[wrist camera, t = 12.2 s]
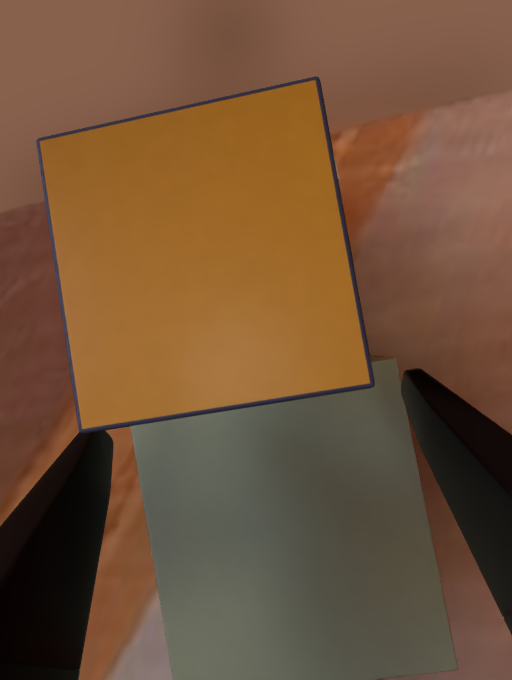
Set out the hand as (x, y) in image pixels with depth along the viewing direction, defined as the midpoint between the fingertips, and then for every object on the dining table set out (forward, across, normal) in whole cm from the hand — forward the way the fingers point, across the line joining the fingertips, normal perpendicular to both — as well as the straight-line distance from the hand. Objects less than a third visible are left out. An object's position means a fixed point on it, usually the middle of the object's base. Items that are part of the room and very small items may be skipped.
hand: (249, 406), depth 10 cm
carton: (+8, 0, +4) cm, 9 cm away
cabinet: (+3, 0, +12) cm, 12 cm away
